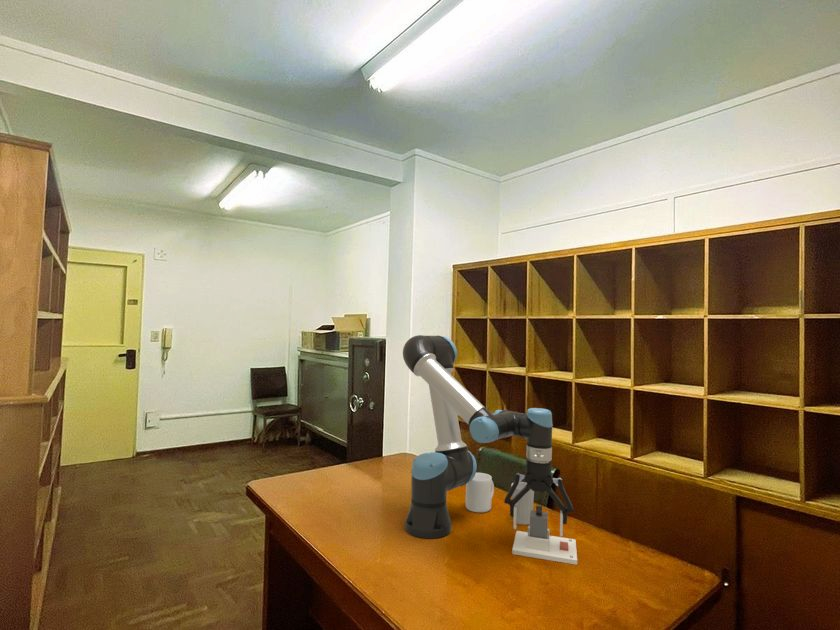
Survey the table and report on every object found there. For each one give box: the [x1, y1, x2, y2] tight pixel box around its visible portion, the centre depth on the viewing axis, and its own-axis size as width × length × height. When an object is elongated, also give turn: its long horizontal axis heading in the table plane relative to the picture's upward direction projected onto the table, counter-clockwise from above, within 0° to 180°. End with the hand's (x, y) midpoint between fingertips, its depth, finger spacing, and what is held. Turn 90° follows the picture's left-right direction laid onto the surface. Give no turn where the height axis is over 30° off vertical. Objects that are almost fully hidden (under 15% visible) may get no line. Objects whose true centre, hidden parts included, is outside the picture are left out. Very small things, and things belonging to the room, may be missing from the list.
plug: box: [529, 504, 549, 539], centre depth 136 cm, size 5×5×12 cm
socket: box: [511, 525, 578, 566], centre depth 135 cm, size 18×14×4 cm
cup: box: [510, 481, 535, 525], centre depth 156 cm, size 8×8×12 cm
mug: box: [465, 472, 495, 514], centre depth 167 cm, size 10×12×12 cm
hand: (537, 530), depth 136 cm, fingers open, 13 cm apart
